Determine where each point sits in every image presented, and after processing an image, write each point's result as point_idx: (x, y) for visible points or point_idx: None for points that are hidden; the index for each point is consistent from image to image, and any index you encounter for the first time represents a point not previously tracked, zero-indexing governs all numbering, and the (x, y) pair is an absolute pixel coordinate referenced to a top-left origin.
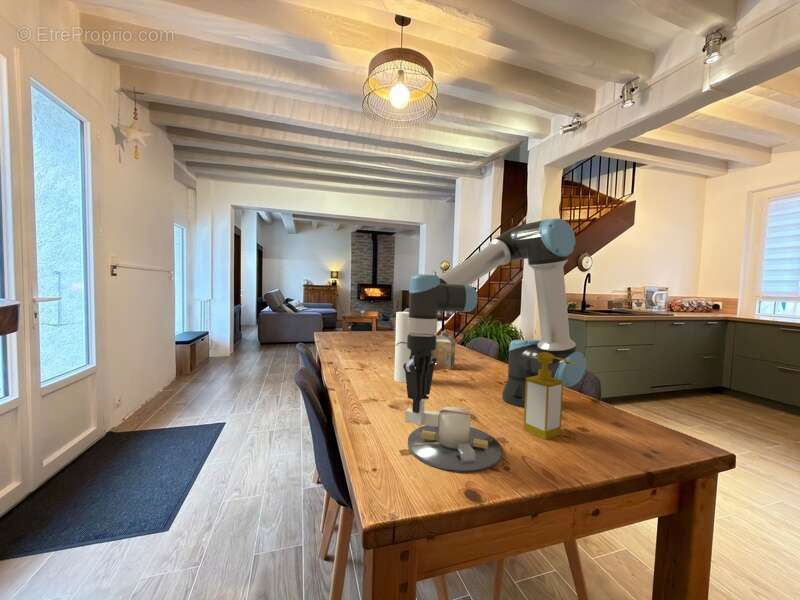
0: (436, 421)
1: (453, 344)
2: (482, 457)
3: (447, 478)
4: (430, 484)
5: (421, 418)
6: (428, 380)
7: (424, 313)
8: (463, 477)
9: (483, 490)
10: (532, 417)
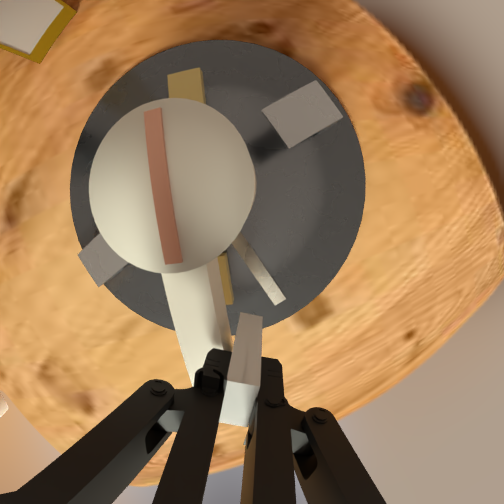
0: (214, 265)
1: None
2: (259, 78)
3: (391, 160)
4: (426, 196)
5: (258, 330)
6: (125, 455)
7: None
8: (368, 120)
9: (392, 75)
10: (28, 30)
